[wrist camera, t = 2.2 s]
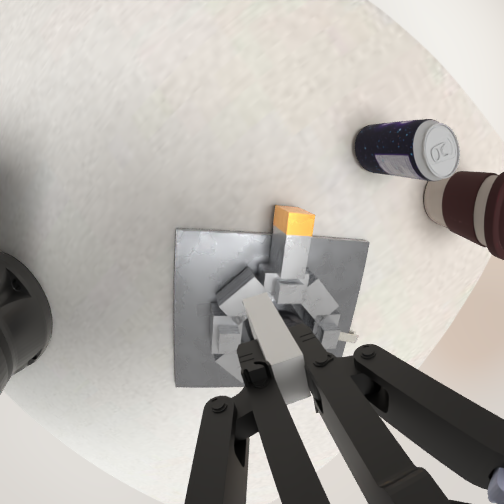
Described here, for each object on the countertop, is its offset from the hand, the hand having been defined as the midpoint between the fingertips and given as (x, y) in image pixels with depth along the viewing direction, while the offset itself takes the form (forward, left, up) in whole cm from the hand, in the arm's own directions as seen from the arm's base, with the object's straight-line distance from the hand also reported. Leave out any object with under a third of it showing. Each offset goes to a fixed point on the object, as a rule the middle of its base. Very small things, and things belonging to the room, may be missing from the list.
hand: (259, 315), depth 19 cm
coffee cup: (+28, +9, -15) cm, 33 cm away
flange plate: (+6, -7, -15) cm, 18 cm away
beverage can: (+15, +13, -15) cm, 25 cm away
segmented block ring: (+5, -5, -14) cm, 16 cm away
